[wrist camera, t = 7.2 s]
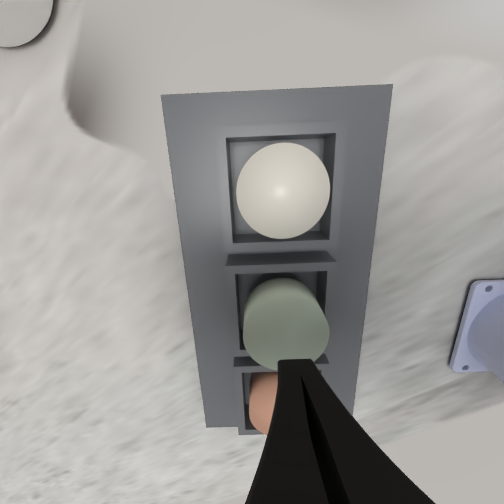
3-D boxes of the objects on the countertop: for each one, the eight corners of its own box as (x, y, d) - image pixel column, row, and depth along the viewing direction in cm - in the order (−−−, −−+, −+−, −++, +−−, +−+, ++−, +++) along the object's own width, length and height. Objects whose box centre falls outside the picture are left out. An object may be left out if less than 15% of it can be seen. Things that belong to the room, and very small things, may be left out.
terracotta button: (309, 358, 17) (318, 386, 15) (307, 404, 19) (315, 436, 17) (248, 360, 17) (247, 388, 15) (250, 406, 19) (250, 438, 17)
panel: (378, 92, 14) (418, 68, 11) (344, 406, 22) (362, 449, 18) (170, 102, 14) (144, 81, 11) (209, 410, 22) (201, 454, 18)
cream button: (318, 145, 13) (333, 140, 11) (315, 226, 14) (327, 237, 12) (236, 149, 13) (233, 144, 11) (240, 229, 14) (238, 240, 12)
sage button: (319, 276, 14) (332, 296, 12) (315, 340, 15) (326, 369, 13) (242, 278, 14) (240, 299, 12) (246, 342, 15) (245, 372, 13)
